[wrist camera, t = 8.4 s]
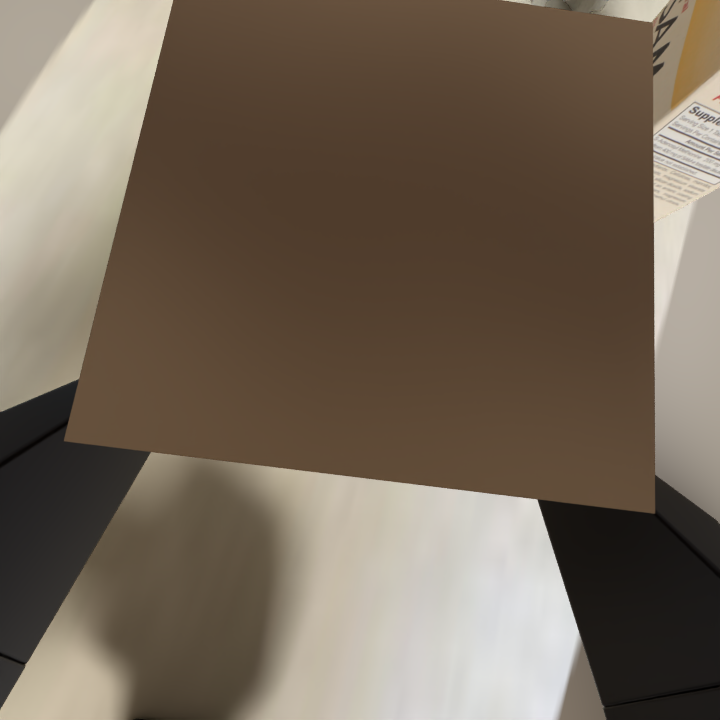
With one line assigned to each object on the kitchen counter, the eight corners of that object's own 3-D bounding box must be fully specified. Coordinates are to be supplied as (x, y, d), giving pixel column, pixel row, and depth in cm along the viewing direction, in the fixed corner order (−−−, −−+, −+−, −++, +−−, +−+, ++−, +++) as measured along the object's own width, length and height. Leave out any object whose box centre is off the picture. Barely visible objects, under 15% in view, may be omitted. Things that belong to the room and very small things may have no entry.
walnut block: (402, 421, 16) (655, 514, 3) (301, 408, 15) (65, 440, 3) (412, 324, 16) (652, 22, 3) (316, 311, 16) (184, -47, 3)
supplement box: (544, 142, 23) (827, -201, 10) (605, 167, 23) (964, -137, 10) (512, 243, 21) (783, 8, 8) (577, 268, 22) (938, 76, 9)
